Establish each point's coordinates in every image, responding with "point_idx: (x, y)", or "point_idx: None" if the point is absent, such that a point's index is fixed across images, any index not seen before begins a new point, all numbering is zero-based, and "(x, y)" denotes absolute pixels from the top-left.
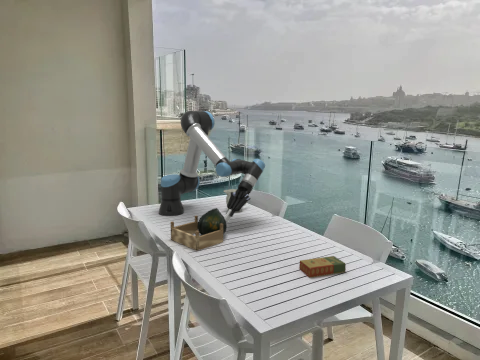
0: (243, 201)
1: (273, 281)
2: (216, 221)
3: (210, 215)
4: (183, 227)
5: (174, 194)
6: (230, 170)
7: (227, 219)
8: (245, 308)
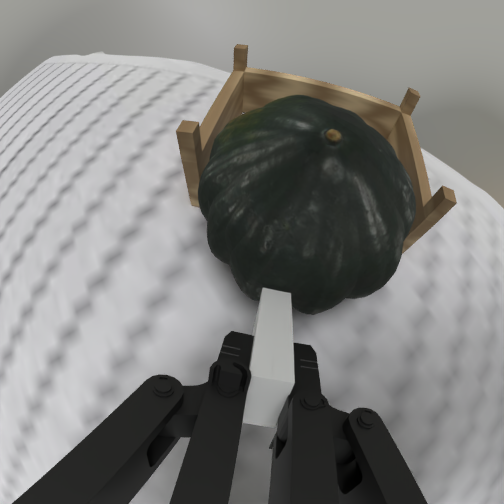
0: (34, 493)
1: (20, 112)
2: (232, 119)
3: (296, 95)
4: (405, 150)
5: None
6: None
7: (256, 319)
8: (64, 60)
